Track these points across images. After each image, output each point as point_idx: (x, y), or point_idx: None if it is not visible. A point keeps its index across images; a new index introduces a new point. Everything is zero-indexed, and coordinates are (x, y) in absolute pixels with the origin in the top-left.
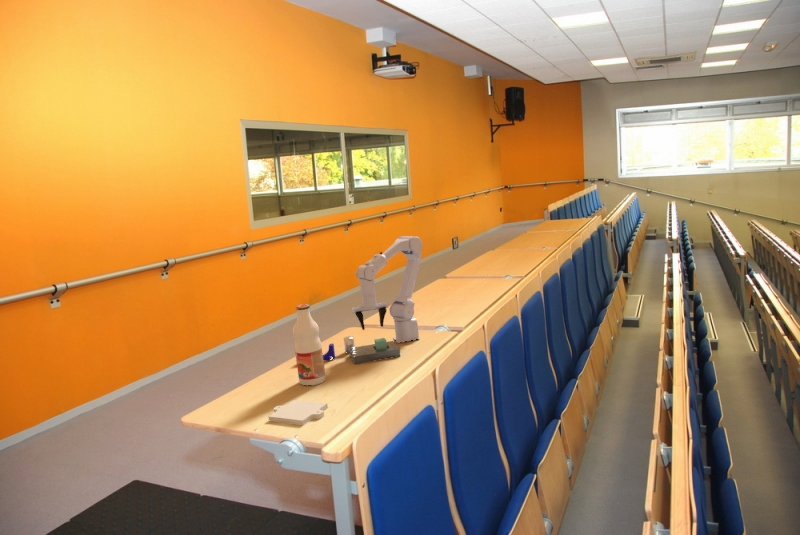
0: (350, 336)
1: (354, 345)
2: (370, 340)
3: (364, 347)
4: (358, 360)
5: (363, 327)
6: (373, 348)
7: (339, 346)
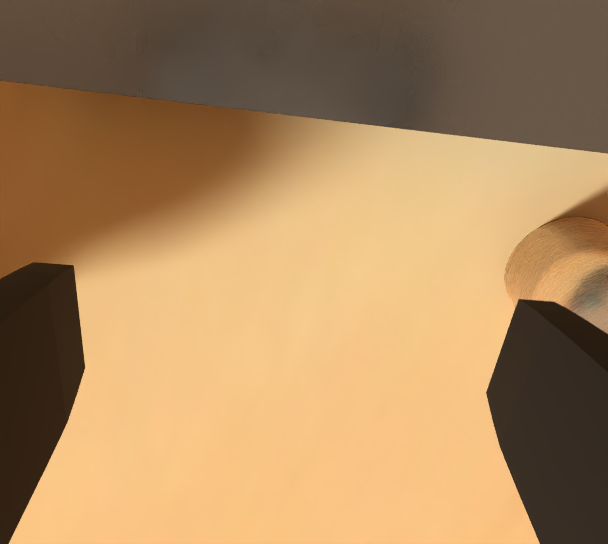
0: None
1: (543, 289)
2: (235, 475)
3: (525, 39)
4: None
5: (576, 325)
6: None
7: None
